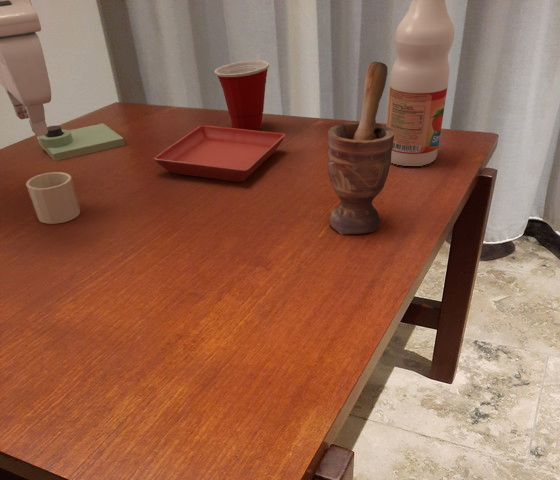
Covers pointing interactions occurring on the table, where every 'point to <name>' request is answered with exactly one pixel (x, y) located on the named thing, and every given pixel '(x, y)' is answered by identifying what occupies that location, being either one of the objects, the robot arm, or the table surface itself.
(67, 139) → the scale
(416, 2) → the fruit juice
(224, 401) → the table surface
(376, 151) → the mortar and pestle
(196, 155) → the plant saucer
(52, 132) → the button
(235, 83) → the plastic cup
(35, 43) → the robot arm
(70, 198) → the ramekin
